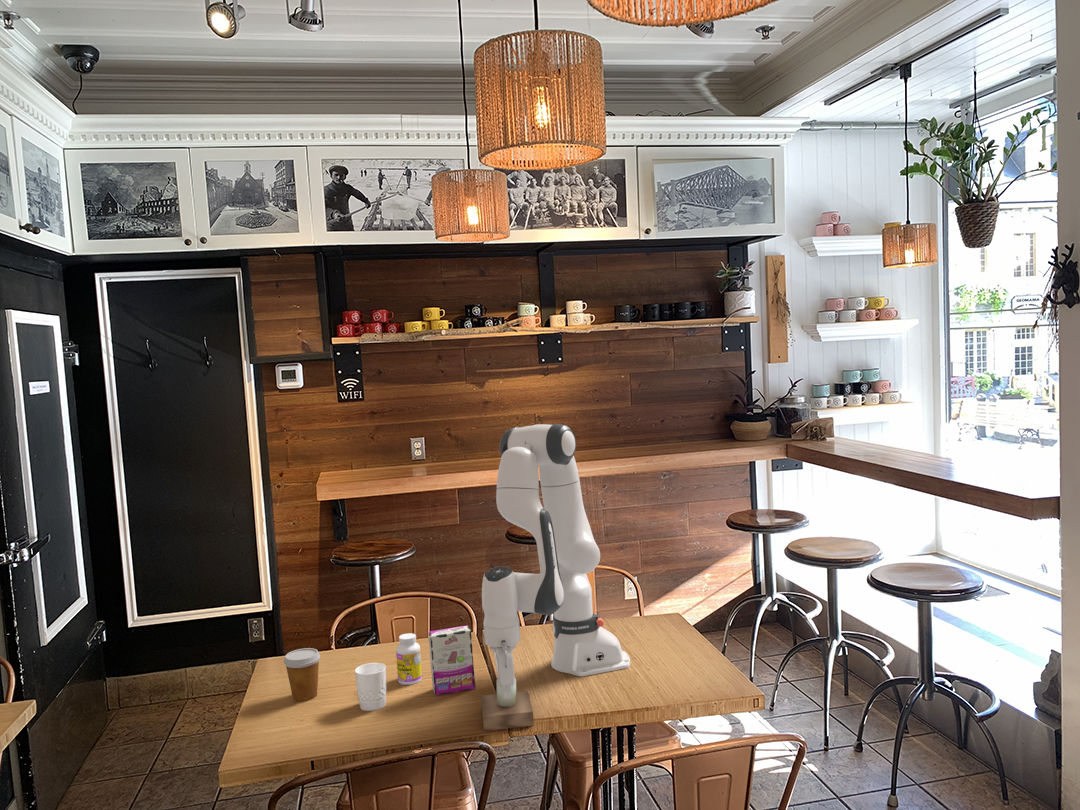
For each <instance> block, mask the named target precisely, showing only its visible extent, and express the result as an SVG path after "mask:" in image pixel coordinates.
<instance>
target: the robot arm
mask: <svg viewBox="0 0 1080 810" xmlns="http://www.w3.org/2000/svg"><path fill="white" fill-rule="evenodd" d="M576 439H577V438H576V436H575V434H574V432H573V431H572V428H570V427H569V426H568V425H565V424H561V423H554V424H548V423H547V424H545V423H544V424H543V423H542V424H540V423H539V424H538V423H537V424H533V425H527V426H526V425H525V426H521V427H518V426H516V427H512V428H509V429H507V430H505V431H504V433H502V436H501V437H500V441H499V445H498V447H499V454H500V457H501V458H500V462H499V465H498V471H497V480H496V492H495V493H496V494H495V499H496V500H495V501H496V508H497V511H498V512H499V514H500V515H501V516H502V518H503V519H505V520H506V521H507V522H508V523H511V524H513V525H515V526H516V527H519V528H521V529H523V530H525V531H526V532H528V533H530V534H531V535H532V536H533V538H534V539H535V542H536V547H537V555H538V563H539V569H540V570H539V571H540V572H539V573H525V572H514V570H513V569H512V568H511V567H509V566H506V565H505V566H503V565H502V566H494V567H492V568H489V569H488V570H486V571H485V572H484V574H483V577H482V584H481V585H482V586H481V602H482V603H481V604H482V605H481V606H482V609H483V612H484V618H483V636H484V640H483V641H484V644H485V645H486V646H488V647H489V649H490V651H492V652H493V655H494V660H495V666H496V672H497V678H498V679H499V684H500V686H502V688H503V697H504V698H505V699H506V698H510V697H511V685H514V682H515V678H516V677H515V667H514V665H515V664H514V656H513V650H515V649H516V647H517V644H519V643H520V642H521V628H520V626H521V625H520V618H519V615H518V612H520V613H532V614H533V613H534V614H537V615H543V616H551V615H553V616H552V633H553V636H554V640H553V641H554V642H553V643H554V644H553V655H552V659H551V663H550V666H551V668H552V669H554V670H555V671H557V672H561V673H565V674H570V675H573V676H575V677H586V676H592V675H596V674H602V673H608V672H613V671H618V670H619V671H620V670H624V669H625V670H626V669H628V668H629V667H630V666H631V657H630V656H629V654H628V653H627V652H626V651H625V650H623V649H622V647H621V644H620V641H619V639H618V638H617V636H616V635H615V634H613V633H611V631H609V630H607V629H605V628H604V627H603V626H604V625H605V622H604V620H603V618H601V616H600V615H599V614H597V613H596V612H593V595H592V593H593V592H592V590H593V589H592V586H591V583H590V581H589V578H588V575H587V574H589V573H591V572H593V571H594V570H595V569H596V568H597V567H598V565H599V563H600V560H601V551H600V548H599V546H598V545H597V543H596V540H595V539H594V535H593V531H592V529H591V528H592V527H591V525H590V523H589V520H588V515H587V513H586V510H585V505H584V500H583V493H582V488H581V480H580V474H579V471H578V465H577V463H576V458H575V456H574V455H575V453H576V450H577V440H576ZM540 488H541V497H542V503H543V505H542V503H541V499H540V491H539V490H540ZM514 677H515V678H514Z"/></svg>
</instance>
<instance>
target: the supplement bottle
mask: <svg viewBox="0 0 1080 810" xmlns="http://www.w3.org/2000/svg"><path fill="white" fill-rule="evenodd" d="M416 641H417V635H416V634H415V633H412V632H411V633H410V632H409V633H402V634H400V635H399V636H398V642H399V644H398V645H397V646H396V648H395V651H396V652H395V655H396V669H397V682H398V683H399V684H400V685H405V686H409V685H414V684H419V682H421V681H422V679H423V675H422V673H423V672H422V659H421V658H422V655H421V646H420V644H419V643H418V642H416Z"/></svg>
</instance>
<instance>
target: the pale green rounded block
mask: <svg viewBox="0 0 1080 810" xmlns="http://www.w3.org/2000/svg"><path fill="white" fill-rule="evenodd" d="M514 678H515V682H514V685H511V697H510V698H506V699H505V698H504V697H503V688H502V686H500V684H499V679H498V677H497V678H496V694H497V705H499V706H501V707H511V706H514V705H515V704H516V692H517V678H516V676H514Z"/></svg>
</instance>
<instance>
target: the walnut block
mask: <svg viewBox="0 0 1080 810" xmlns="http://www.w3.org/2000/svg"><path fill="white" fill-rule="evenodd" d="M480 698H481V699H480V700H481V702H480V703H481V712H482V713H481V715H482V724H483V725H482V726H483V731H484V732H487V731H494V730H503V729H504V730H505V729H512V728H513V729H514V728H522V727H533V726H534V725H535V724H534V711H533V707H532V702H531V698H530V694H529V691H528V690H527V691H516V704H515V705H514V706H511V707H501V706H499V705H497V693H495V694H488V695H487V694H485V695H481V696H480Z"/></svg>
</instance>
